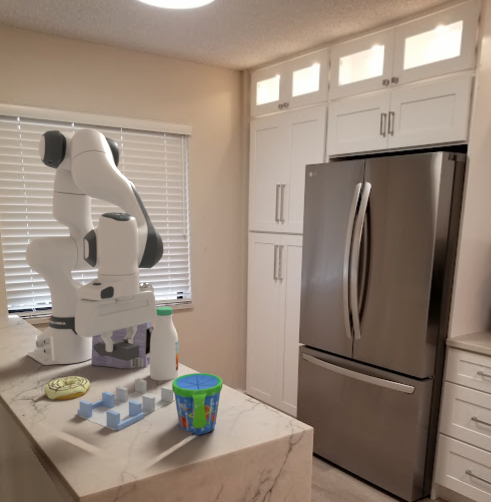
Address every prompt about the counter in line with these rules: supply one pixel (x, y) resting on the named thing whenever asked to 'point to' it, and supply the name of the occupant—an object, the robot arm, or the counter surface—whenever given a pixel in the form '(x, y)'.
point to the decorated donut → (67, 388)
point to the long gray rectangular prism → (120, 350)
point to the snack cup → (197, 401)
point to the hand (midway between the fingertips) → (119, 348)
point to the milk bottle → (164, 347)
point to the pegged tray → (124, 406)
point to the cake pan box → (140, 339)
